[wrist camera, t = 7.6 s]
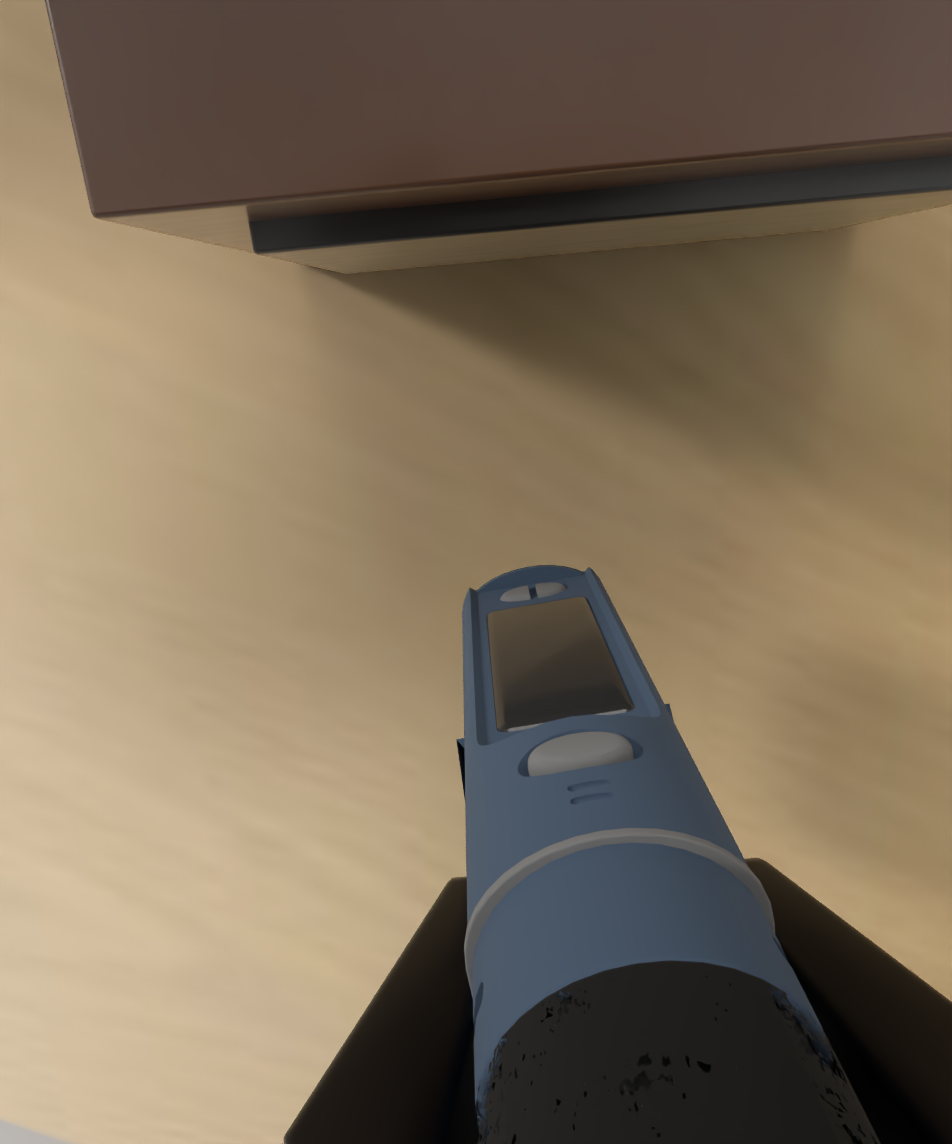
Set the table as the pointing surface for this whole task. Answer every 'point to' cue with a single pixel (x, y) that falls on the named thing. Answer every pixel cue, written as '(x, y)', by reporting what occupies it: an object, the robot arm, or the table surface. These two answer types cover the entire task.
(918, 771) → the table surface
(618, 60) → the radio
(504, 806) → the vaping device
